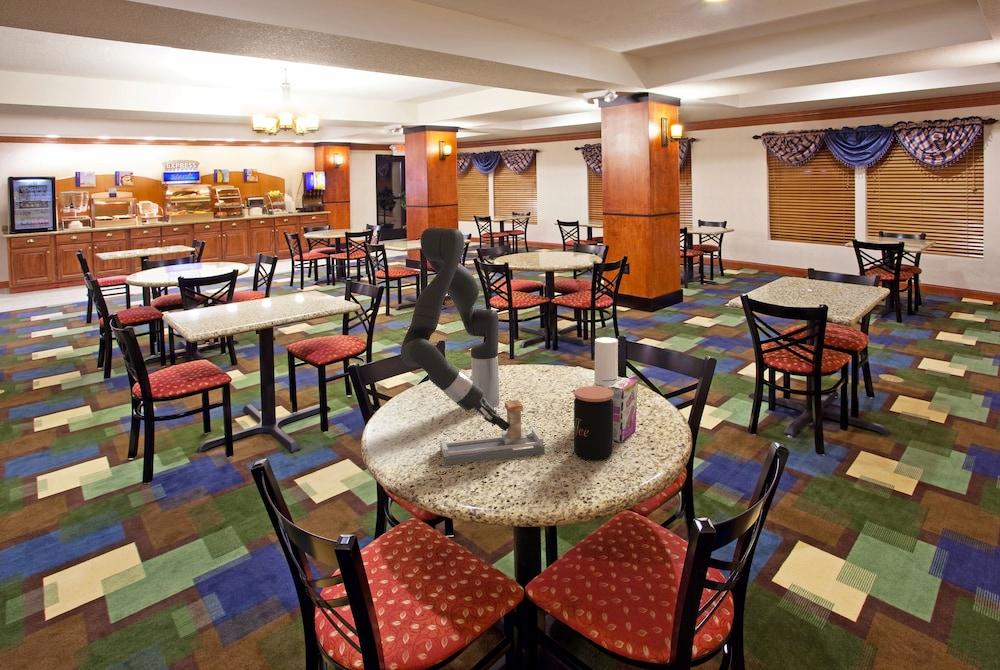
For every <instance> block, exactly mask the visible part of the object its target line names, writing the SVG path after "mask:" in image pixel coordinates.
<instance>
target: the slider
mask: <svg viewBox="0 0 1000 670" xmlns="http://www.w3.org/2000/svg"><path fill="white" fill-rule="evenodd" d="M504 408H505V409H506V422H507V423H508V424H509V428H508V429H507V430H506V431H507V432H502V433H501V436H502V440H503V442H504V444H505V445H513V444H521V443H527V437H526V435H525V434H526V433H524V431H523V430H522V413H521V412H524V406H523V404H522V402H521V401H520V400H519V399H513V400H505V401H504Z"/></svg>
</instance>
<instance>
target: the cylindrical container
mask: <svg viewBox="0 0 1000 670" xmlns="http://www.w3.org/2000/svg"><path fill="white" fill-rule="evenodd" d="M618 345H619V340H618V338H615V337H614V338H613V337H609V336H607V337H604V336H603V337H597V338H595V339H594V385H593V386H599V387H605V388H608V387H609V386H611V385H612V384H614V383H616V382H617V381H618V361H619V360H618V356H619V355H618V351H619V349H618V348H619V347H618Z"/></svg>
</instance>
